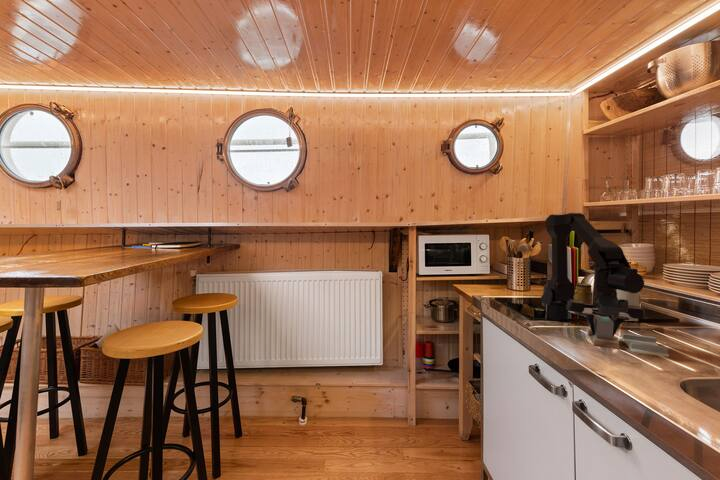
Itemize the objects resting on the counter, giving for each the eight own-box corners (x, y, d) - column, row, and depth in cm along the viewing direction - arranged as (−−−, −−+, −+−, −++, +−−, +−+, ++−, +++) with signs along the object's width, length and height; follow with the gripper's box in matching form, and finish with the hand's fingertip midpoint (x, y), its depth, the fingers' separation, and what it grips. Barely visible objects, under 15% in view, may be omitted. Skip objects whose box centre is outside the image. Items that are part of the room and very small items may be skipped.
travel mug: (630, 323, 122) (633, 274, 121) (607, 317, 130) (609, 271, 129) (642, 320, 126) (645, 273, 125) (619, 315, 133) (622, 270, 132)
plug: (596, 343, 101) (597, 317, 101) (592, 337, 106) (593, 312, 106) (612, 345, 99) (613, 319, 99) (607, 339, 105) (609, 314, 104)
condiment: (582, 310, 139) (583, 282, 139) (600, 316, 131) (602, 286, 130) (567, 311, 138) (568, 283, 137) (585, 317, 129) (587, 287, 129)
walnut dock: (594, 346, 99) (594, 340, 99) (587, 334, 110) (587, 328, 110) (619, 350, 96) (619, 343, 96) (609, 337, 107) (609, 331, 107)
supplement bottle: (554, 309, 141) (555, 281, 140) (538, 305, 147) (540, 278, 146) (563, 307, 144) (565, 280, 143) (548, 304, 150) (549, 277, 149)
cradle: (632, 352, 95) (632, 344, 95) (621, 339, 106) (621, 332, 106) (668, 357, 91) (669, 349, 91) (653, 343, 102) (653, 336, 102)
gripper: (572, 287, 99) (570, 339, 100) (653, 294, 91) (649, 350, 92) (568, 281, 109) (565, 328, 110) (640, 287, 101) (637, 338, 102)
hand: (602, 336), depth 103 cm, fingers open, 4 cm apart
